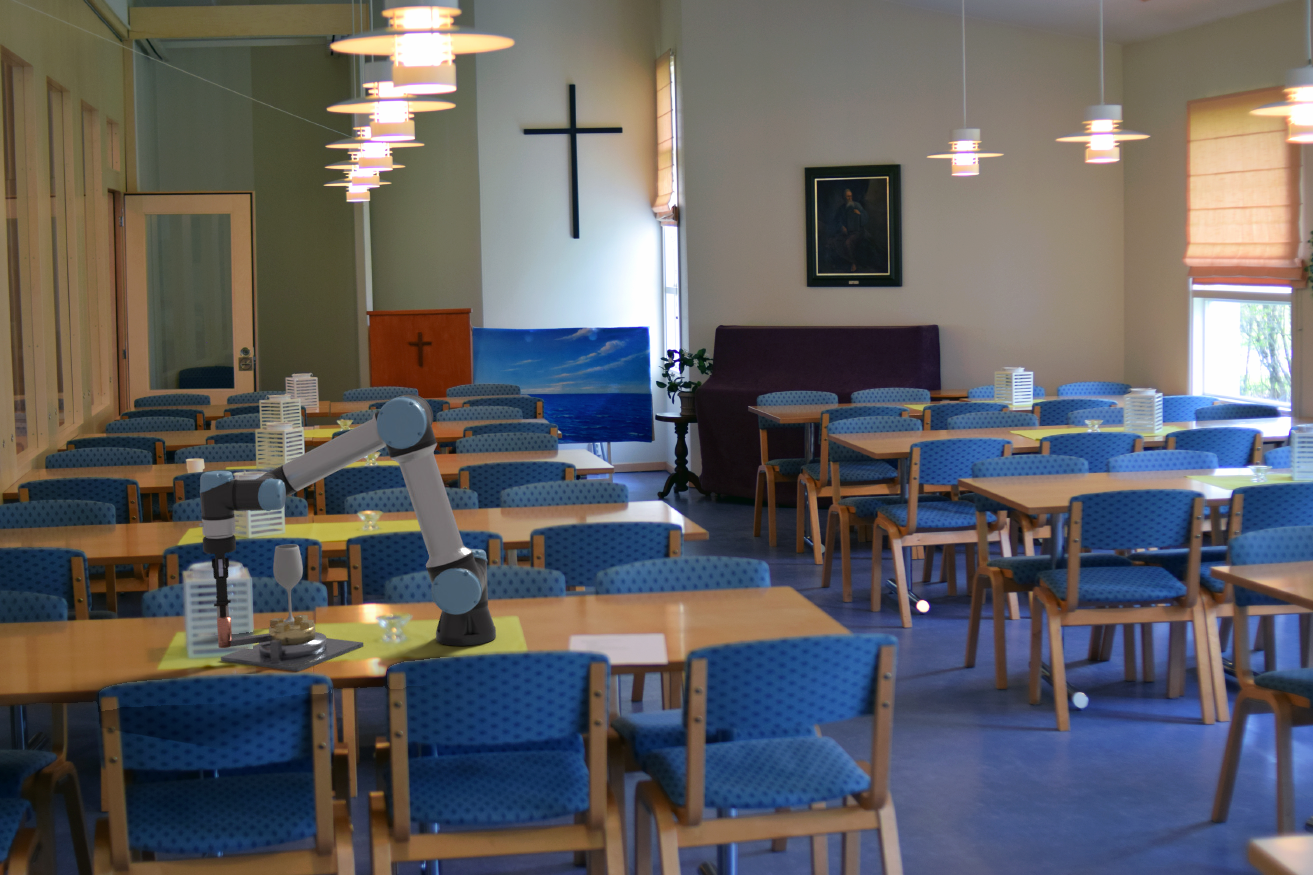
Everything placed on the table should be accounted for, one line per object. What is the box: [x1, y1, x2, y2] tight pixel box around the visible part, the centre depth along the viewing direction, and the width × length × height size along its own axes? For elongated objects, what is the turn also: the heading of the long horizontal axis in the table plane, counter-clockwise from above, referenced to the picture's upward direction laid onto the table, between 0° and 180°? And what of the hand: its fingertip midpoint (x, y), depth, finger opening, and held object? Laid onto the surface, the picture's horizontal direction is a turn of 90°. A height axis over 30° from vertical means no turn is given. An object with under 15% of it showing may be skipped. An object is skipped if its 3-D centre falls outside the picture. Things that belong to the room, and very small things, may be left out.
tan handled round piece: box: [216, 614, 317, 649], centre depth 319 cm, size 23×11×7 cm, turn 119°
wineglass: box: [272, 544, 304, 622], centre depth 353 cm, size 8×8×21 cm
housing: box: [220, 631, 364, 672], centre depth 322 cm, size 24×24×6 cm
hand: (223, 630), depth 318 cm, fingers closed
